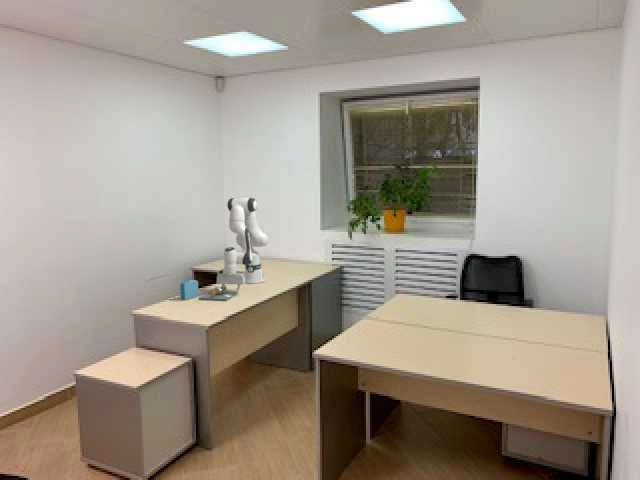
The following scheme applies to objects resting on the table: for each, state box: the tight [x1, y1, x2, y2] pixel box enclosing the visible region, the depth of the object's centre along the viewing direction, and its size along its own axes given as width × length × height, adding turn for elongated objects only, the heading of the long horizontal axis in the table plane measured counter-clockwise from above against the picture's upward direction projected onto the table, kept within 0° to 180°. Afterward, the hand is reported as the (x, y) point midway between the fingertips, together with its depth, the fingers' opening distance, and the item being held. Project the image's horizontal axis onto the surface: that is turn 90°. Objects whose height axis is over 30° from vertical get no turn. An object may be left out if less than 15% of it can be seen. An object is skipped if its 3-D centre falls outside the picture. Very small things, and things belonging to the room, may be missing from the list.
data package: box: [179, 279, 200, 301], centre depth 335 cm, size 12×4×12 cm, turn 145°
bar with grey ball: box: [211, 284, 227, 296], centre depth 339 cm, size 20×6×5 cm, turn 168°
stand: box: [198, 289, 239, 302], centre depth 340 cm, size 22×21×2 cm
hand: (231, 290), depth 343 cm, fingers open, 8 cm apart
